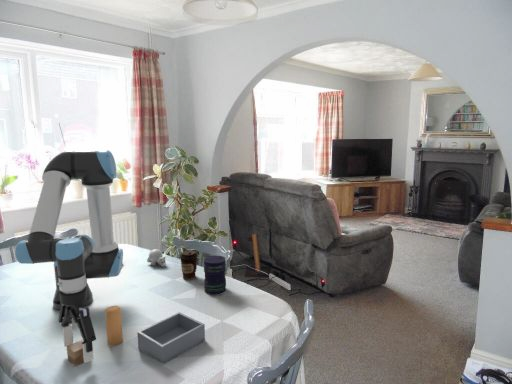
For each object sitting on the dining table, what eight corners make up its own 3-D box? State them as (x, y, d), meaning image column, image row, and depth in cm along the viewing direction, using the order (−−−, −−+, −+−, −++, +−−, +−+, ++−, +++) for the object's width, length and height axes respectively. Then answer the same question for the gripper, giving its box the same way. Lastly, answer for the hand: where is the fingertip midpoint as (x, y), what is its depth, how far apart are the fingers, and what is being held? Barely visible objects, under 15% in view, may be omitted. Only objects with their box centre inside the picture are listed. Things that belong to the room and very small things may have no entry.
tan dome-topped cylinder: (106, 346, 127) (104, 313, 125) (108, 338, 131) (105, 306, 129) (122, 344, 128) (120, 311, 126) (123, 336, 133) (121, 305, 131)
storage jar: (208, 296, 164) (207, 264, 161) (201, 288, 172) (200, 257, 170) (229, 292, 168) (229, 260, 166) (221, 284, 177) (220, 254, 174)
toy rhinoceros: (158, 273, 197) (161, 260, 194) (144, 261, 203) (147, 248, 200) (168, 269, 203) (171, 256, 199) (155, 257, 209) (158, 244, 205)
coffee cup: (194, 281, 180) (193, 256, 178) (178, 280, 182) (177, 254, 179) (200, 275, 188) (199, 250, 186) (185, 273, 190) (184, 249, 188)
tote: (163, 364, 117) (162, 346, 116) (138, 348, 125) (137, 331, 125) (204, 340, 130) (204, 324, 129) (180, 327, 139) (179, 312, 138)
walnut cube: (75, 366, 116) (73, 352, 115) (68, 360, 119) (66, 346, 118) (91, 359, 120) (89, 345, 119) (83, 353, 123) (82, 339, 122)
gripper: (43, 282, 121) (49, 343, 124) (79, 304, 105) (85, 373, 108) (67, 275, 126) (72, 334, 129) (105, 295, 110) (110, 361, 114)
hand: (78, 352), depth 119 cm, fingers open, 13 cm apart
